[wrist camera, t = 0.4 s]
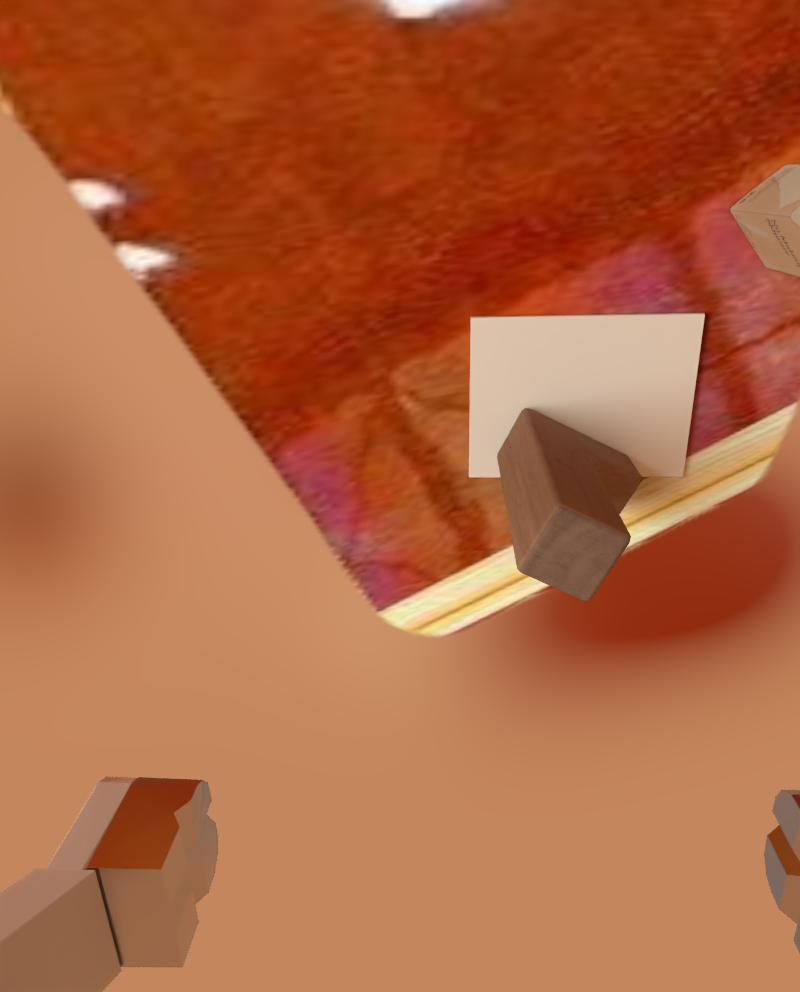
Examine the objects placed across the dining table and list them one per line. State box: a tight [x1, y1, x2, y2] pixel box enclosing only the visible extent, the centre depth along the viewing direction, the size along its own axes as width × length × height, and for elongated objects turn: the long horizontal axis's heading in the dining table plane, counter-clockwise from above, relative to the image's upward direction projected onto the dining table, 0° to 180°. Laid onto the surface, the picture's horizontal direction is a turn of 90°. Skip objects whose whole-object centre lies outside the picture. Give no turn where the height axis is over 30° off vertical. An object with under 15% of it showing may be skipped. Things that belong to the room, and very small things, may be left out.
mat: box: [469, 313, 705, 477], centre depth 53 cm, size 12×16×1 cm
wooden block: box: [497, 408, 642, 601], centre depth 46 cm, size 9×4×18 cm, turn 65°
